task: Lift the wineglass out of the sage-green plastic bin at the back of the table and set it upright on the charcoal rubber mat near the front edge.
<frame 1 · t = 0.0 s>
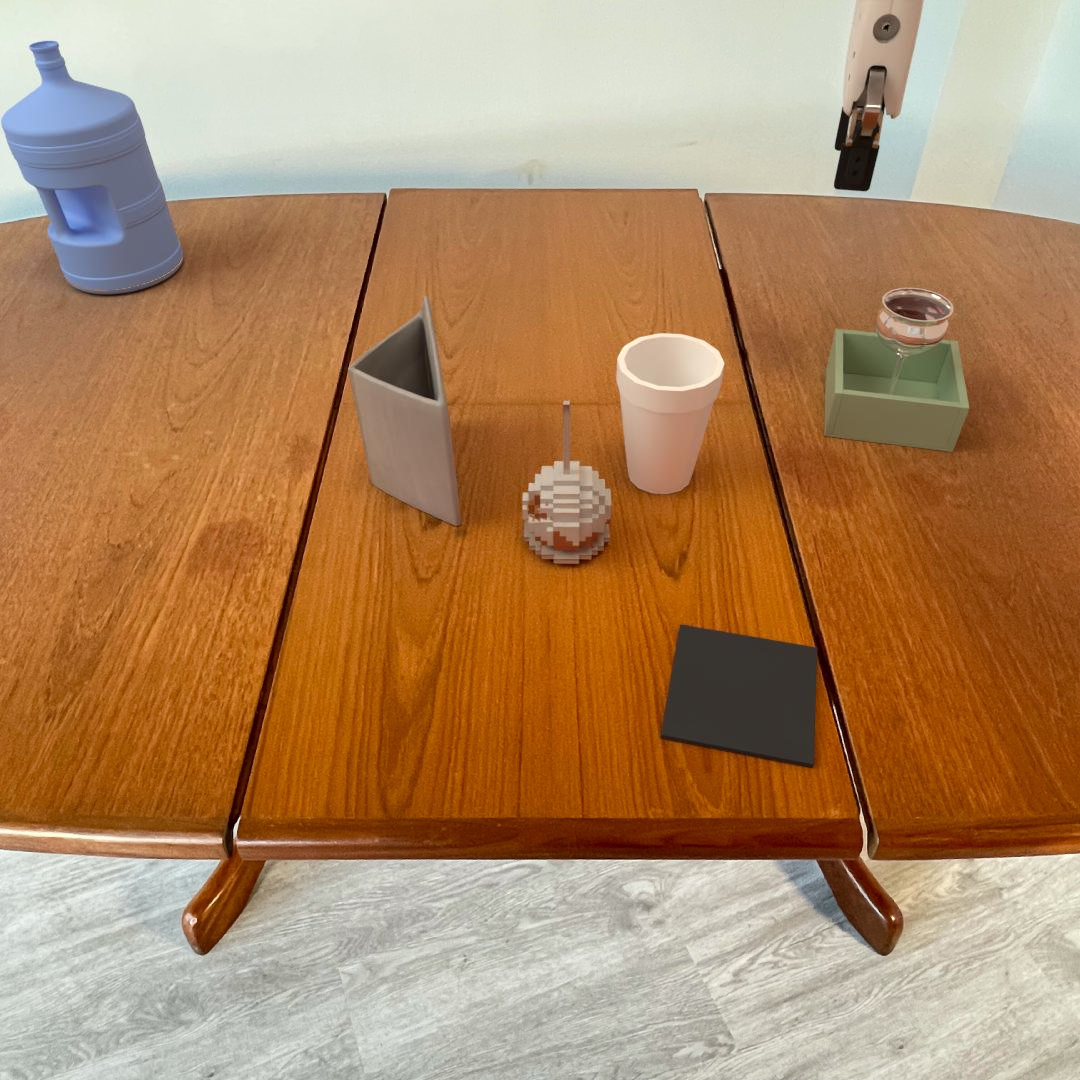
hand: (850, 169, 85), 22 cm above the table, tool pointing down, fingers open, 9 cm apart
planter: (411, 479, 88), on the table
mat: (741, 693, 68), on the table
foam cup: (659, 475, 87), on the table
decorative ornament: (566, 539, 81), on the table
wineglass: (885, 407, 94), resting on bin
water jug: (127, 271, 121), on the table
bin: (885, 408, 94), on the table
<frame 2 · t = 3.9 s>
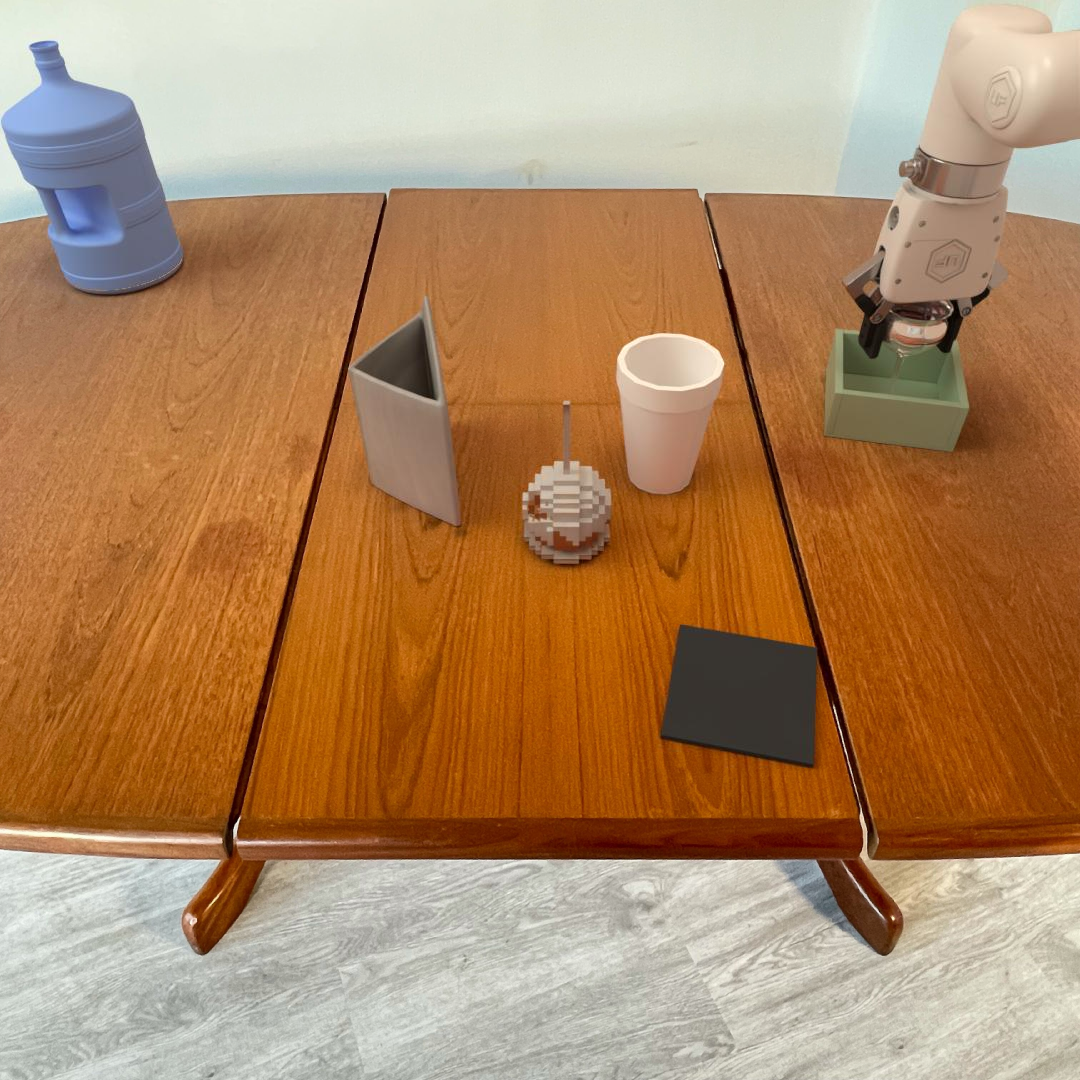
hand: (904, 347, 89), 8 cm above the table, tool pointing down, fingers closed on wineglass, 6 cm apart
wineglass: (885, 407, 94), resting on bin, touching gripper
everything else where it was.
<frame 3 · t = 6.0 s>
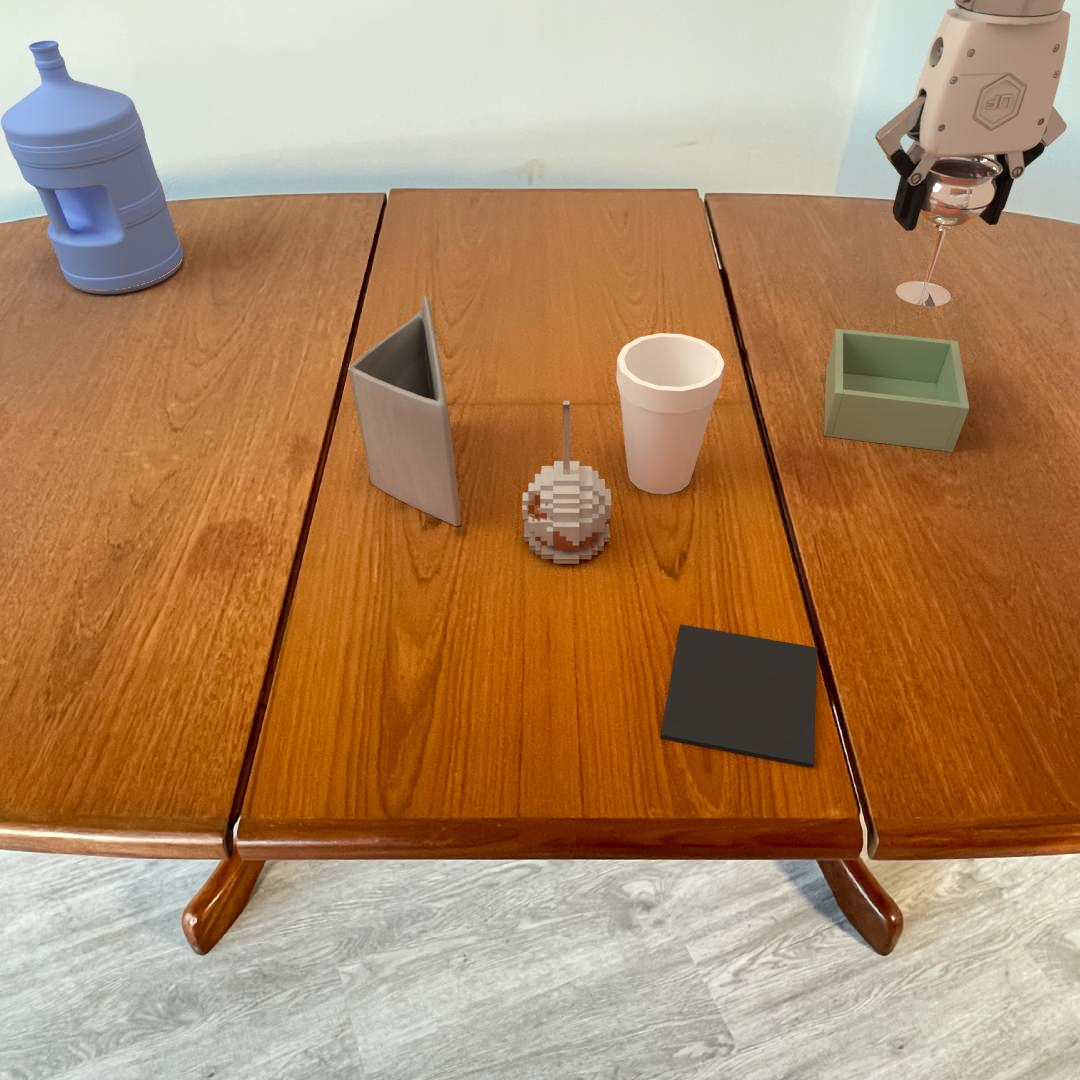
hand: (944, 220, 79), 21 cm above the table, tool pointing down, fingers closed on wineglass, 6 cm apart
wineglass: (922, 295, 84), point 14 cm above the table, touching gripper
everything else where it was.
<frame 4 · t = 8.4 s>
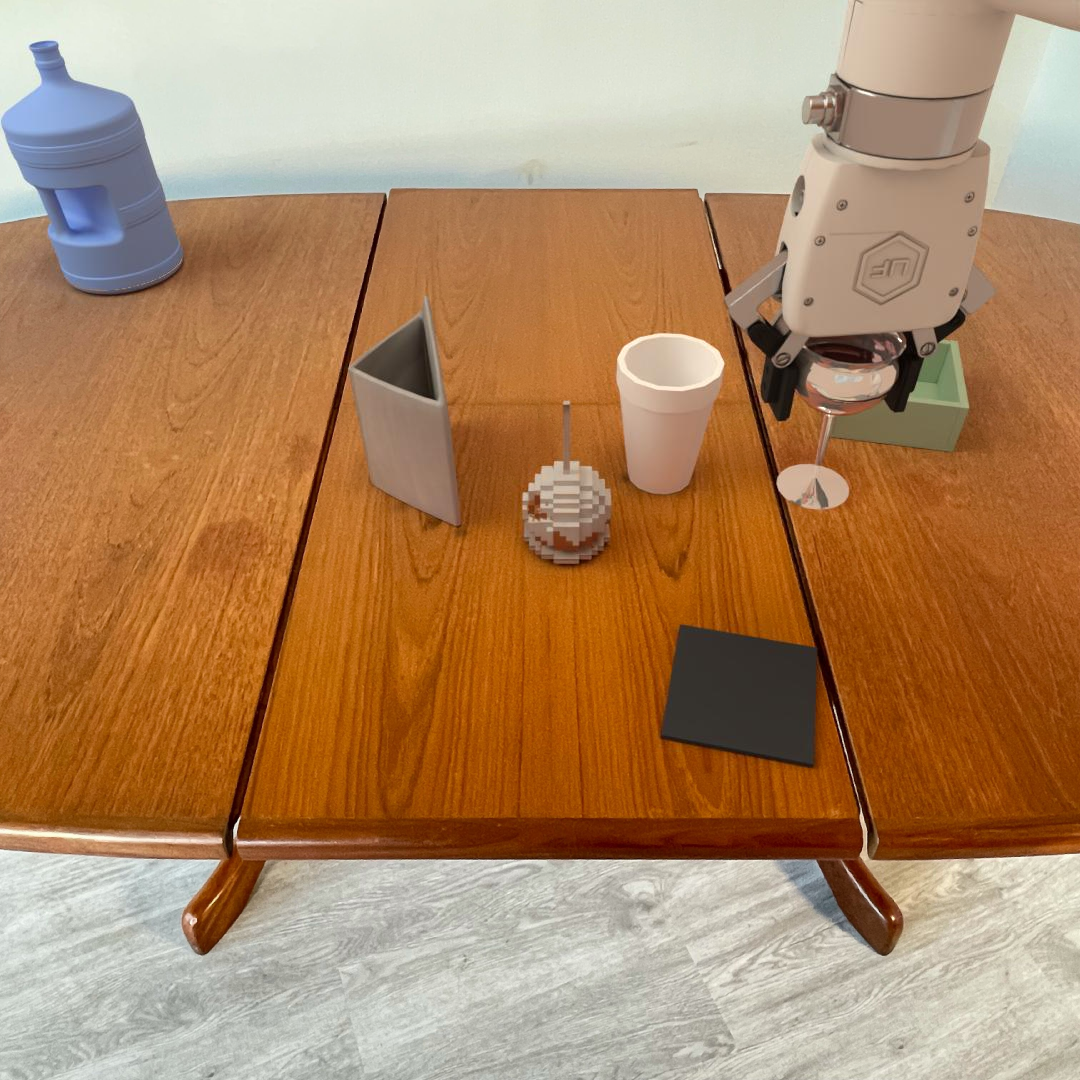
hand: (833, 402, 57), 22 cm above the table, tool pointing down, fingers closed on wineglass, 6 cm apart
wineglass: (812, 488, 62), point 15 cm above the table, touching gripper
everything else where it was.
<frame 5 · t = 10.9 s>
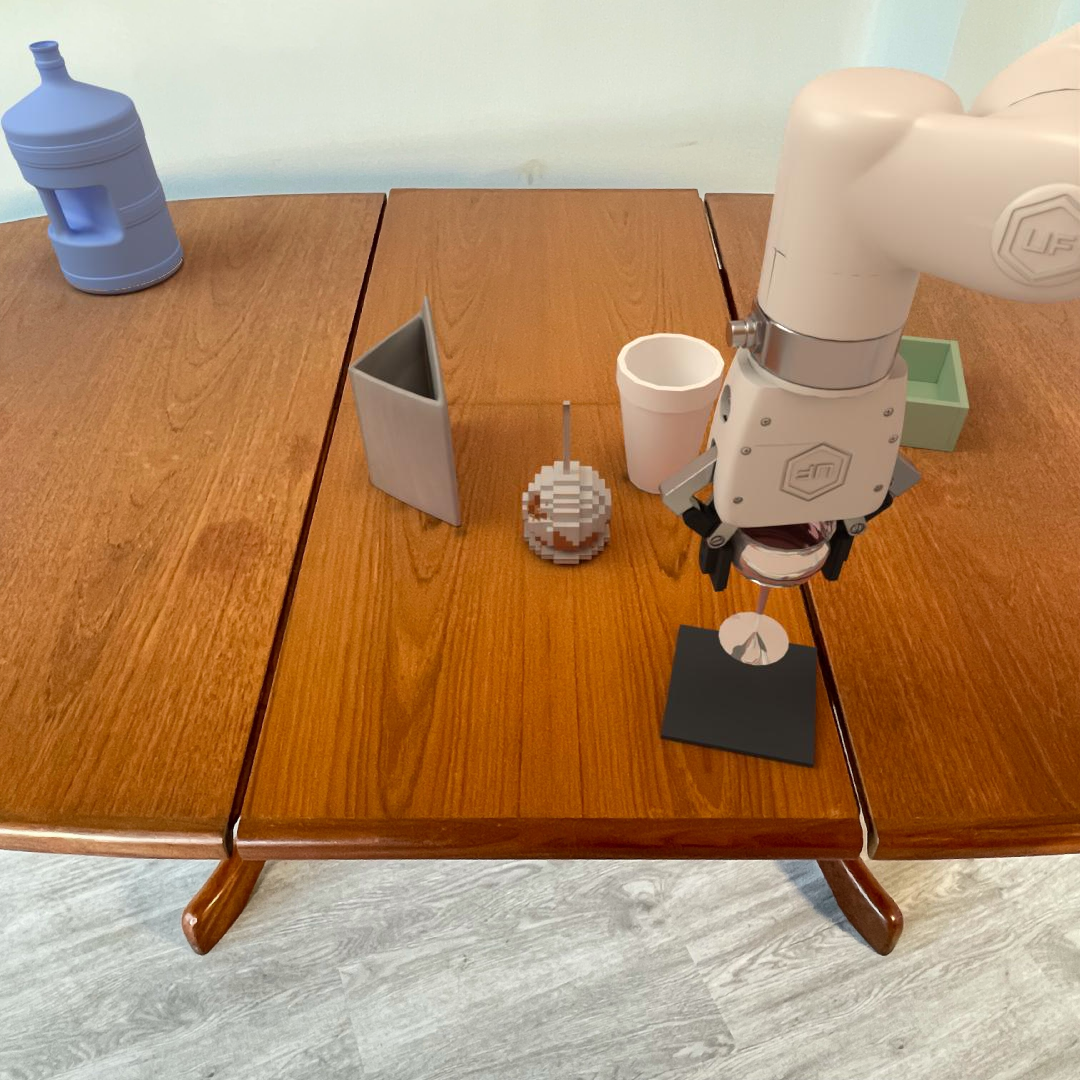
hand: (769, 569, 58), 14 cm above the table, tool pointing down, fingers closed on wineglass, 6 cm apart
wineglass: (753, 639, 64), point 6 cm above the table, touching gripper
everything else where it was.
when the fingers open (8 cm above the table, at t = 12.9 s): wineglass stays where it is, resting on mat.
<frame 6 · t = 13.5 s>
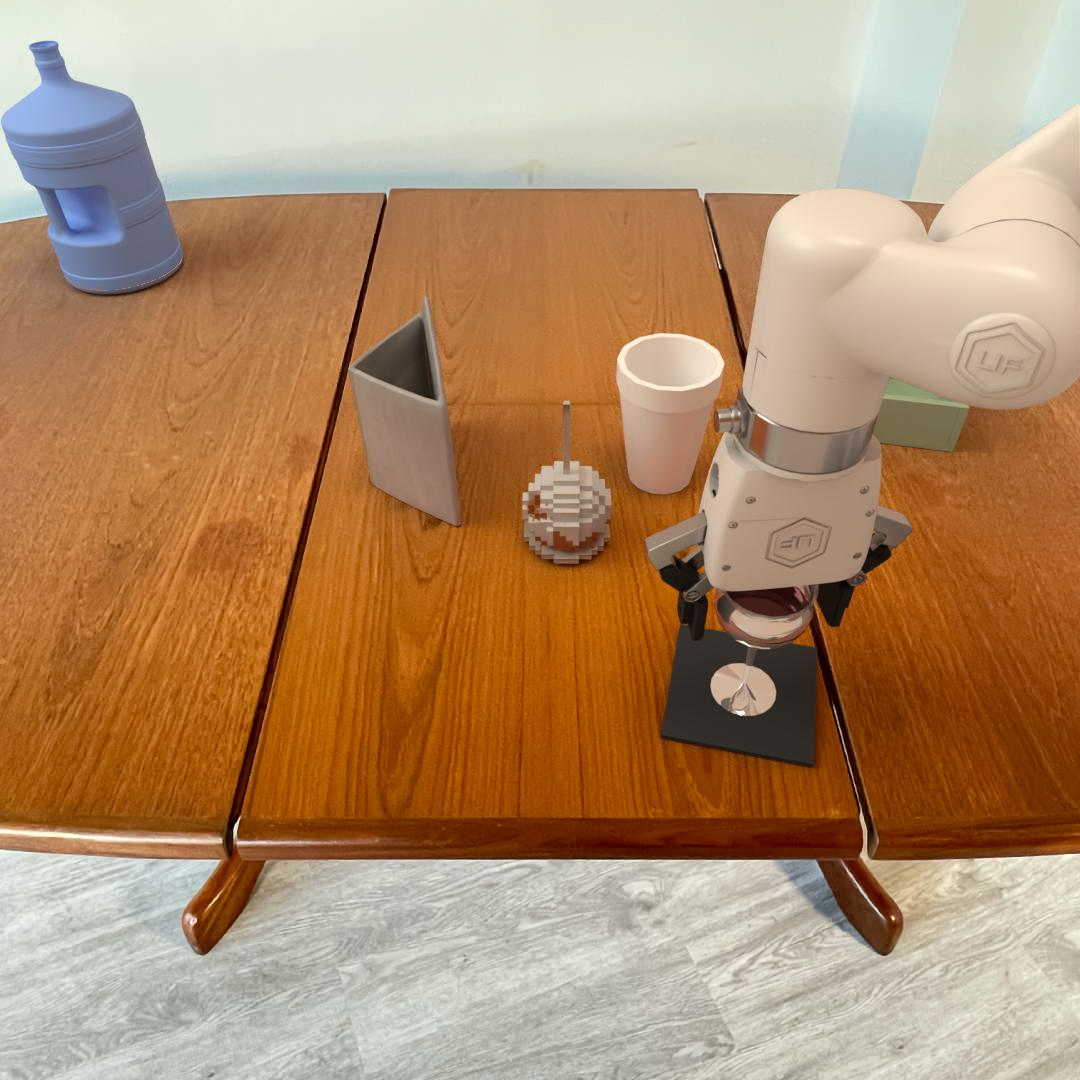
hand: (759, 618, 62), 9 cm above the table, tool pointing down, fingers open, 9 cm apart
wineglass: (742, 690, 68), resting on mat
everything else where it was.
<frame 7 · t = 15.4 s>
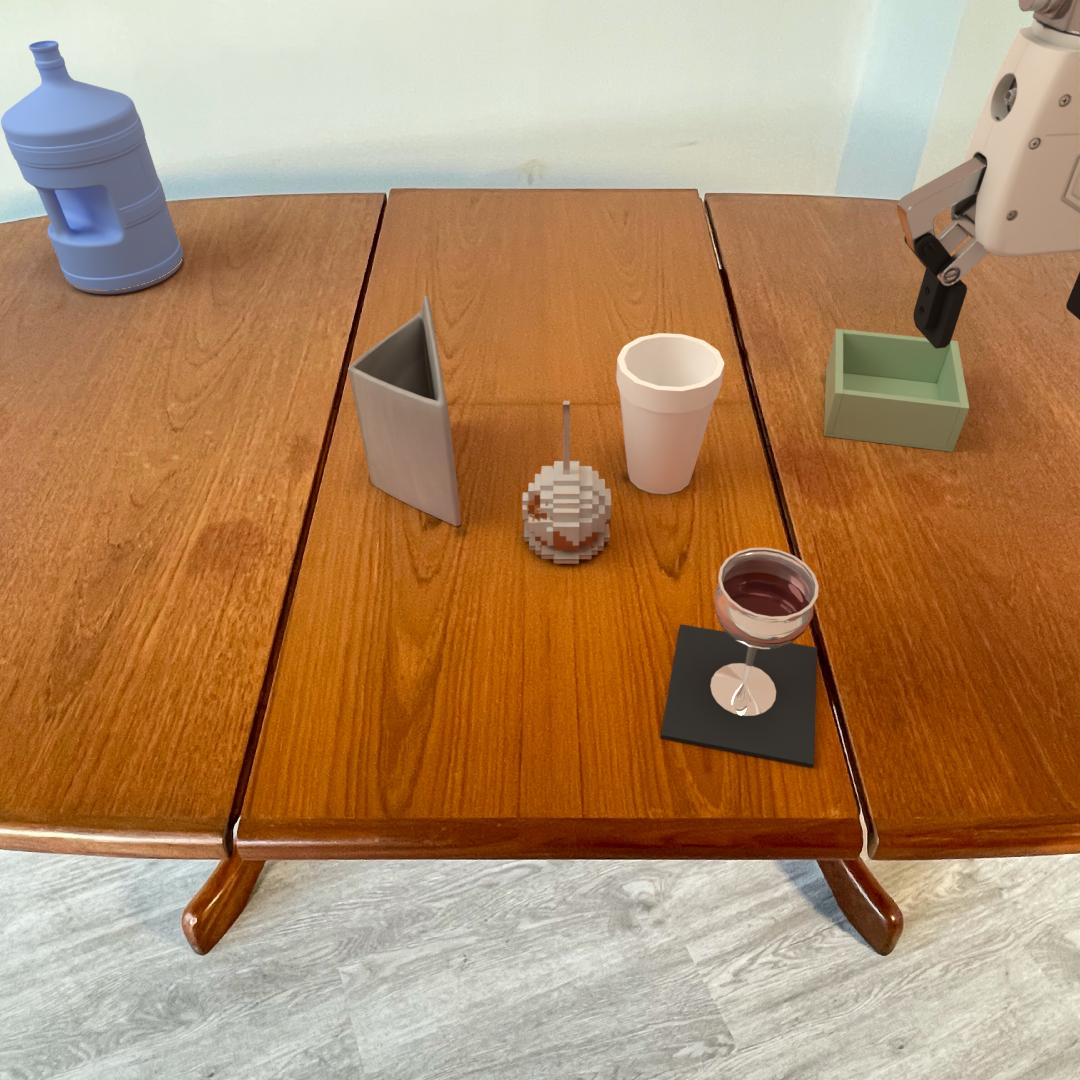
hand: (1007, 328, 52), 28 cm above the table, tool pointing down, fingers open, 9 cm apart
nothing on the table moved.
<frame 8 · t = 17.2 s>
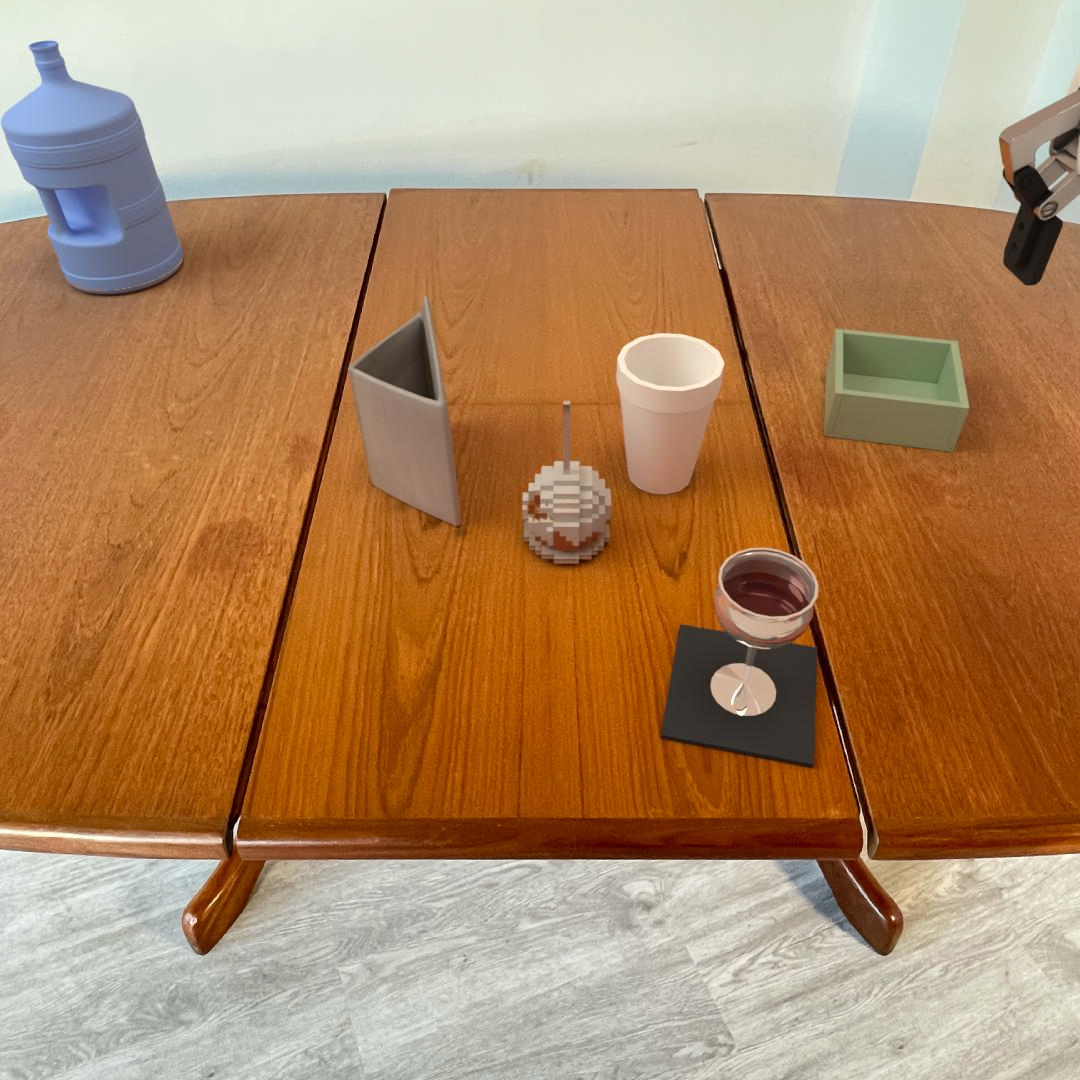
nothing on the table moved.
at the end: wineglass inside the target area on the mat (0.1 cm from its centre), point 0.3 cm above the mat's base; wineglass tilted 0°; the gripper is holding nothing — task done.
